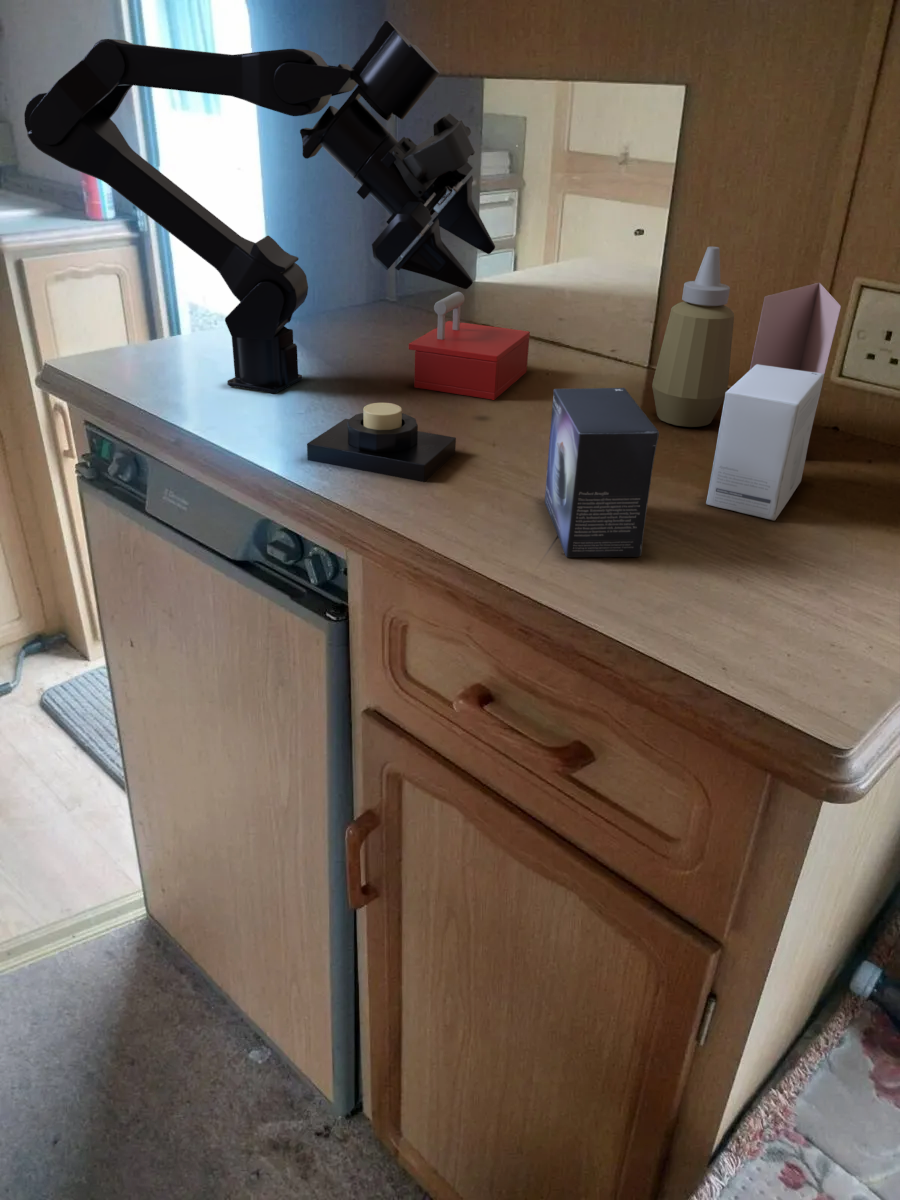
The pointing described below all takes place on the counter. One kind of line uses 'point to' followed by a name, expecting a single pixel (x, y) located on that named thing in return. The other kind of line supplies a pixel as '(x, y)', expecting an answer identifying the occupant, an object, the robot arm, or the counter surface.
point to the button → (382, 416)
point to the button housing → (383, 449)
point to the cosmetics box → (763, 440)
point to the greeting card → (797, 329)
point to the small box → (599, 471)
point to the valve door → (467, 335)
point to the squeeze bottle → (696, 350)
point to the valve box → (470, 373)
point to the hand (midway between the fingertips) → (481, 267)
